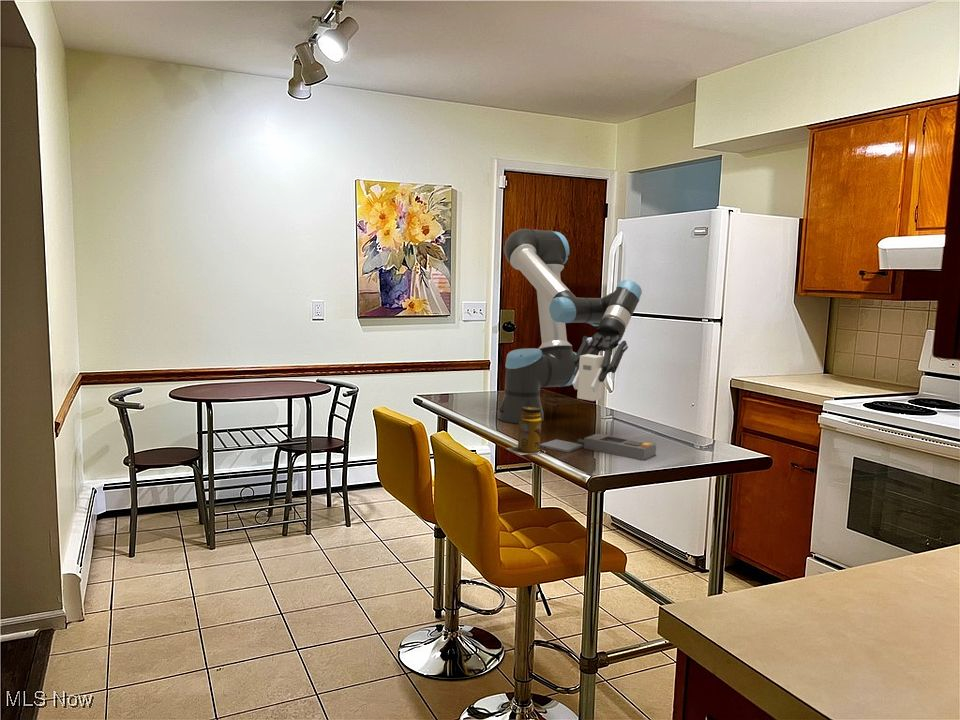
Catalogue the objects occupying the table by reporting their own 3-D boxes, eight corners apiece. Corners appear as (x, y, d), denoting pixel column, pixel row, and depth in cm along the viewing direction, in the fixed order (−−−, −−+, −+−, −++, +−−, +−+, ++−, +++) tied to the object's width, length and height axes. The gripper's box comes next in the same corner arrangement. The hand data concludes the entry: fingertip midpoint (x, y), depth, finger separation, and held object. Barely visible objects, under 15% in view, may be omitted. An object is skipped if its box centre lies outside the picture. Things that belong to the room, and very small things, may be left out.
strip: (571, 445, 204) (572, 433, 204) (584, 441, 210) (585, 429, 210) (643, 460, 191) (644, 447, 191) (655, 454, 198) (656, 442, 197)
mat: (555, 441, 209) (555, 439, 209) (583, 446, 203) (583, 444, 203) (539, 446, 202) (539, 444, 201) (567, 452, 196) (567, 450, 196)
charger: (585, 395, 203) (588, 354, 201) (601, 398, 200) (604, 356, 199) (576, 398, 199) (579, 355, 197) (593, 401, 196) (596, 357, 194)
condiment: (546, 452, 195) (548, 409, 194) (521, 455, 191) (523, 411, 189) (529, 446, 201) (532, 404, 200) (505, 449, 197) (507, 406, 195)
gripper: (645, 336, 205) (617, 401, 194) (588, 330, 215) (559, 391, 204) (639, 318, 199) (610, 384, 189) (581, 313, 210) (550, 375, 199)
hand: (583, 387), depth 196 cm, fingers closed on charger, 5 cm apart
